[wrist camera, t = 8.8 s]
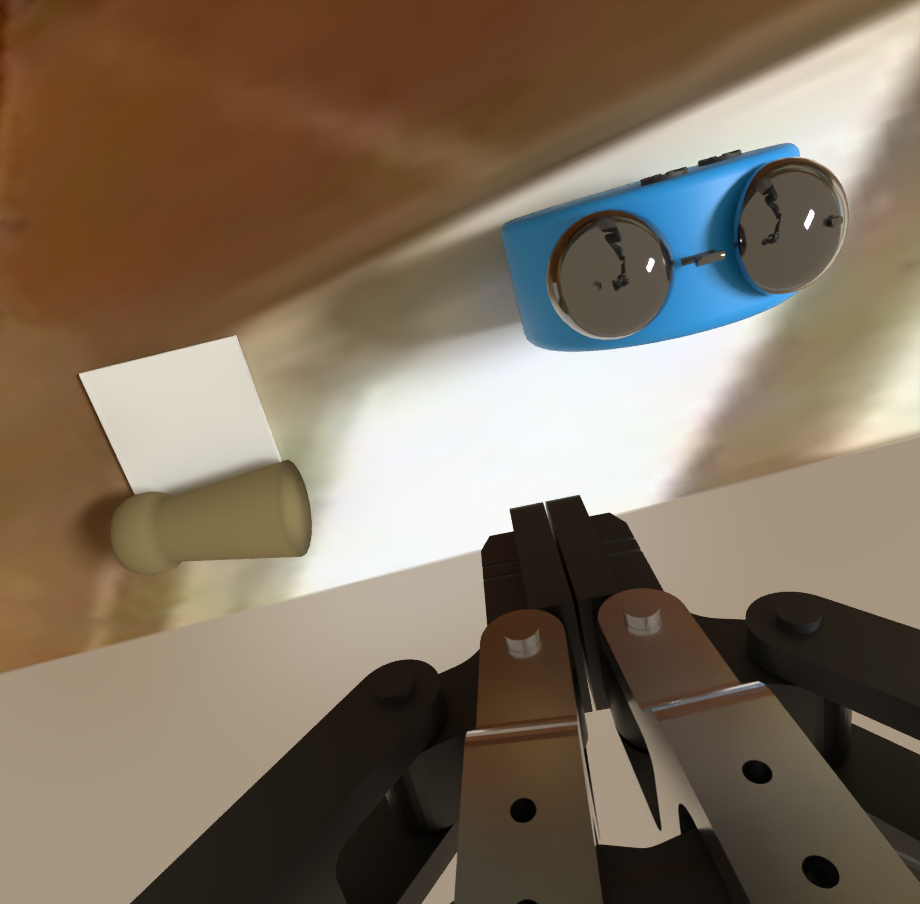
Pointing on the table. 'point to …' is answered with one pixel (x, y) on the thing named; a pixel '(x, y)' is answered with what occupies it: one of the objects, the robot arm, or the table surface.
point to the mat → (183, 417)
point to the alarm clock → (676, 250)
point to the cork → (215, 522)
